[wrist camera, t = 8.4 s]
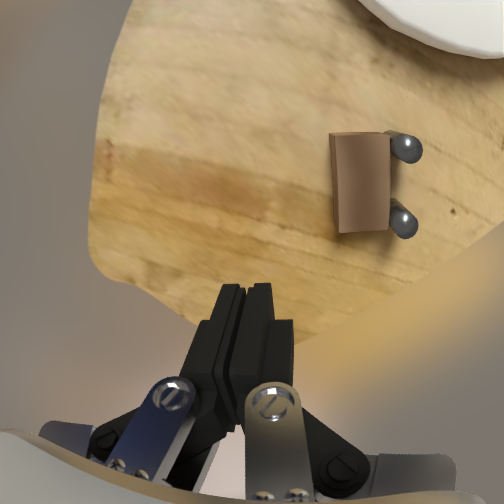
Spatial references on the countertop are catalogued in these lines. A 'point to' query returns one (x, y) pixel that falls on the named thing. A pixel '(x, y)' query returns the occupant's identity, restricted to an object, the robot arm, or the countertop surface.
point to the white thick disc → (447, 23)
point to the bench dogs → (399, 216)
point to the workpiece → (360, 180)
